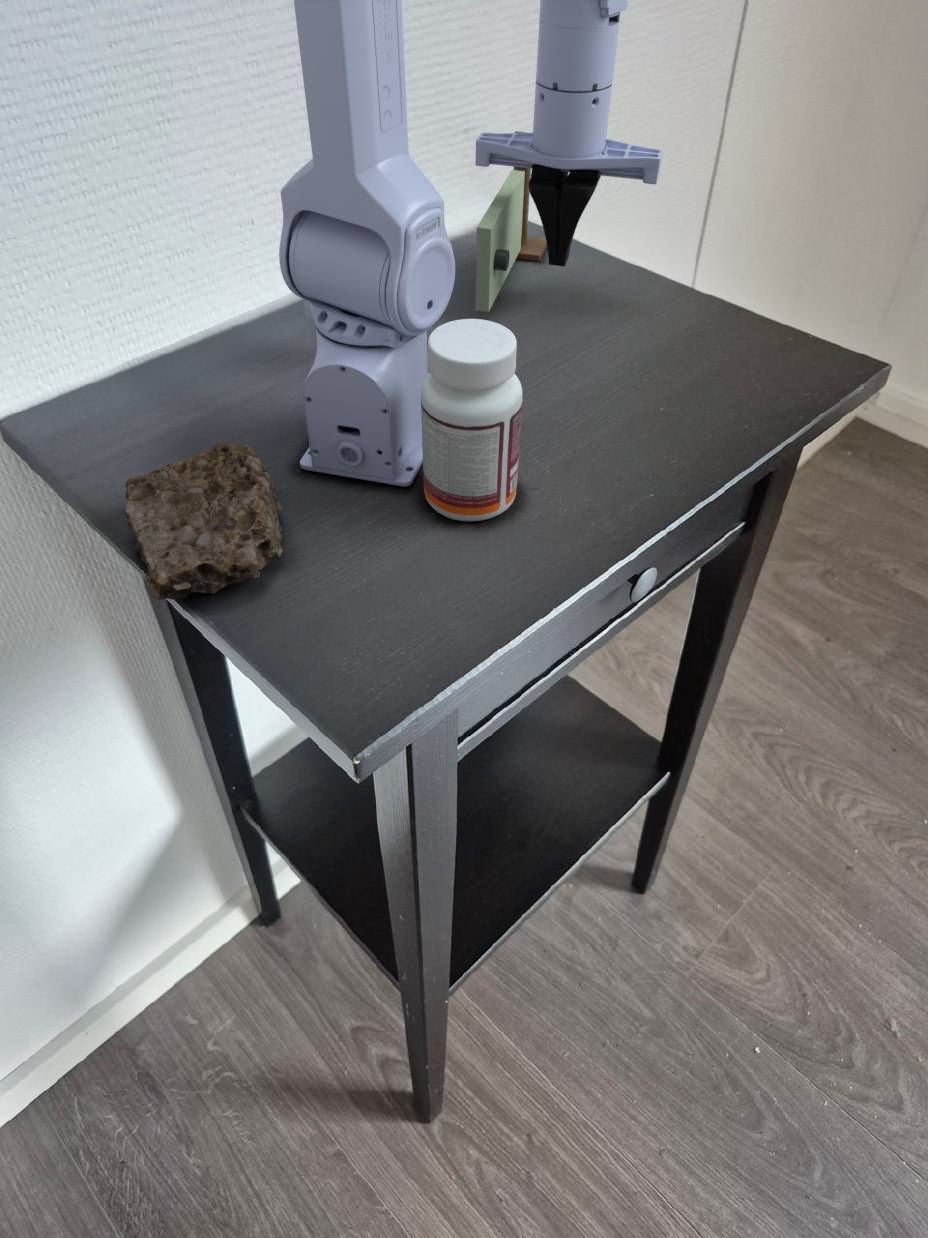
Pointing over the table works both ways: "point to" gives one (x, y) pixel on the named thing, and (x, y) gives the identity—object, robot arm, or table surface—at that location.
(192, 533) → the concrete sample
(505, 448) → the pill bottle
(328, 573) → the table surface
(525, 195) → the wooden stand
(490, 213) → the door
